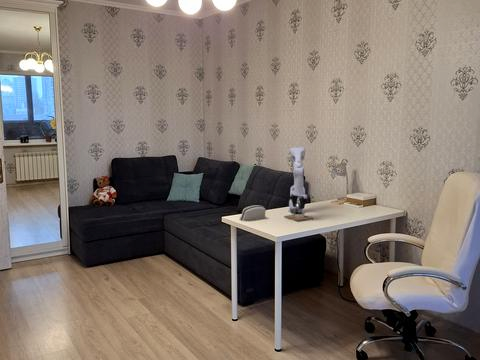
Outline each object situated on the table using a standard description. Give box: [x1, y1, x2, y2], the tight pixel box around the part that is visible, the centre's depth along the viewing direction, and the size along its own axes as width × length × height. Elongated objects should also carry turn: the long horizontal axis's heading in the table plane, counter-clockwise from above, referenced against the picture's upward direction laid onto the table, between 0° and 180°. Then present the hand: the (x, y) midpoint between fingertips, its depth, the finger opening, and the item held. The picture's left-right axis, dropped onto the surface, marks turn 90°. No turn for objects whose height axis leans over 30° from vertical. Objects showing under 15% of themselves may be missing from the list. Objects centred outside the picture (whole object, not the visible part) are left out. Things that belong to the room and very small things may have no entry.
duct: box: [283, 212, 314, 223], centre depth 270 cm, size 14×12×4 cm
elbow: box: [290, 203, 302, 214], centre depth 269 cm, size 8×4×8 cm, turn 123°
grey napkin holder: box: [239, 204, 266, 222], centre depth 270 cm, size 17×5×10 cm, turn 120°
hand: (298, 207), depth 270 cm, fingers open, 7 cm apart
